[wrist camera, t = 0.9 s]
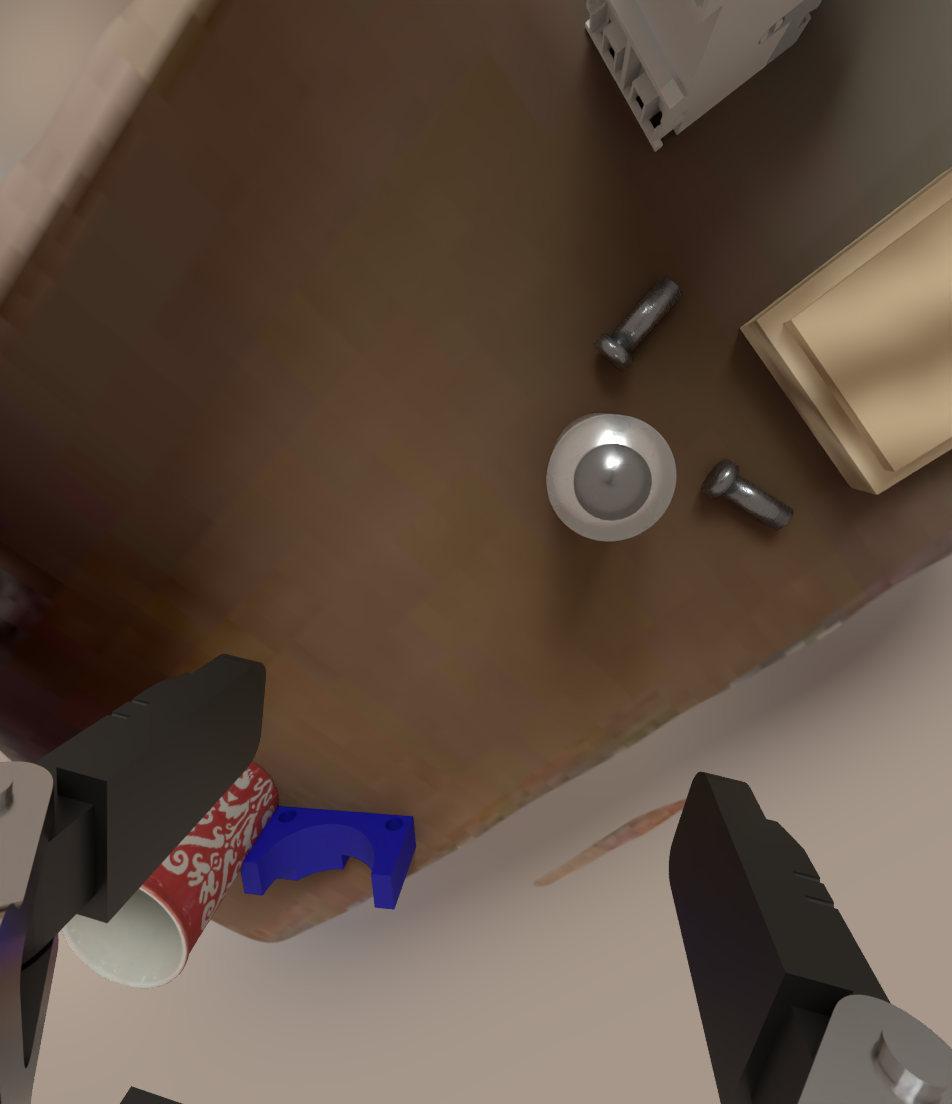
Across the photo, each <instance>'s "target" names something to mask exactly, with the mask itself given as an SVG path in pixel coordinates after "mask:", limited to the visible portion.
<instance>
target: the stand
mask: <svg viewBox="0 0 952 1104" xmlns="http://www.w3.org/2000/svg"><path fill="white" fill-rule="evenodd" d="M740 330H741V331H742V333H743V334H744V335H745V337H746V338H747V340H748V341H749V343H750V344H751V345H752V347H753V348H754V350H755V351H756V353H757V354H758V355H759V357H760V358H761V360H762V361H763V363H764V364H765V366H766V367H767V368H768V370H769V371H770V373H771V374H772V376H773V377H774V378H775V380H776V381H777V383H778V384H779V386H780V387H781V388H782V390H783V391H784V393H785V394H786V396H787V397H788V399H789V400H790V401H791V403H792V404H793V406H794V407H795V409H796V410H797V411H798V413H799V414H800V416H801V417H802V419H803V420H804V422H805V423H806V424H807V426H808V427H809V429H810V430H811V432H812V433H813V434H814V436H815V437H816V439H817V440H818V442H819V443H820V444H821V446H822V447H823V449H824V450H825V452H826V453H827V455H828V456H829V457H830V459H831V460H832V462H833V463H834V465H835V466H836V467H837V469H838V470H839V472H840V473H841V475H842V476H843V477H844V479H845V480H846V482H847V483H848V485H849V486H850V488H853V489H857V490H861V491H864V492H868V493H872V494H875V495H878V494H880V493H881V492H883V491H884V490H886V489H888V488H889V487H891V486H893V485H894V484H896V483H897V482H899V481H901V480H902V479H904V478H905V477H907V476H909V475H910V474H912V473H913V472H915V471H917V470H918V469H920V468H921V467H923V466H925V465H926V464H928V463H930V462H931V461H933V460H934V459H936V458H938V457H939V456H941V455H942V454H944V453H946V452H947V451H949V450H950V449H952V167H951V168H950V169H948V170H947V171H945V172H943V173H942V174H941V175H939V176H938V177H937V178H935V179H934V180H933V181H931V182H930V183H929V184H928V185H926V186H925V187H924V188H922V189H921V190H920V191H918V192H917V193H916V194H914V195H913V196H912V197H911V198H909V199H908V200H907V201H905V202H904V203H903V204H901V205H900V206H899V207H897V208H896V209H895V210H894V211H892V212H891V213H890V214H888V215H887V216H886V217H884V218H883V219H882V220H880V221H879V222H878V223H877V224H875V225H874V226H873V227H871V228H870V229H869V230H867V231H866V232H865V233H863V234H862V235H861V236H860V237H858V238H857V239H856V240H854V241H853V242H852V243H850V244H849V245H848V246H846V247H845V248H844V249H843V250H841V251H840V252H839V253H837V254H836V255H835V256H833V257H832V258H831V259H829V260H828V261H827V262H826V263H824V264H823V265H822V266H820V267H819V268H818V269H816V270H815V271H814V272H812V273H811V274H810V275H808V276H807V277H806V278H805V279H803V280H802V281H801V282H799V283H798V284H797V285H795V286H794V287H793V288H791V289H790V290H789V291H788V292H786V293H785V294H784V295H782V296H781V297H780V298H778V299H777V300H776V301H774V302H773V303H772V304H771V305H769V306H768V307H767V308H765V309H764V310H763V311H761V312H760V313H759V314H757V315H756V316H755V317H754V318H752V319H751V320H750V321H748V322H747V323H746V324H744V325H743V326H742V327H740Z"/></svg>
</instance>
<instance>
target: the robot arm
mask: <svg viewBox="0 0 952 1104" xmlns="http://www.w3.org/2000/svg"><path fill="white" fill-rule="evenodd" d="M265 681H266V670H265V666H264V665H263V664H262V663H260V662H256V661H252V660H248V659H244V658H239V657H235V656H231V655H227V654H222V655H219V656H217V657H216V658H214V659H213V660H212V661H210V662H209V663H207V664H206V665H204V666H203V667H201V668H200V669H198V670H197V671H196V672H194V673H193V674H190V673H185V674H182V675H179V676H176V677H173V678H170V679H167V680H164V681H161V682H159V683H156V684H155V685H153V686H151V687H150V688H148V689H147V690H145V691H144V692H142V693H141V694H139V695H138V696H136V697H135V698H133V700H132V702H127V703H125V704H124V705H122V706H121V707H119V708H118V709H116V710H115V711H113V713H112V715H111V716H110V715H107V716H105V717H104V718H102V719H101V720H99V721H98V722H96V723H95V724H93V725H91V726H90V727H88V728H87V729H85V730H84V731H82V732H81V733H79V734H78V735H76V736H75V737H73V738H72V739H70V740H68V741H67V742H65V743H64V744H62V745H61V746H59V747H58V748H56V749H55V750H53V751H52V752H50V753H48V754H47V755H45V756H44V757H42V758H41V759H39V760H38V761H36V762H35V763H33V764H32V763H28V762H0V1104H31V1096H32V1089H33V1083H34V1077H35V1072H36V1066H37V1061H38V1055H39V1050H40V1044H41V1039H42V1033H43V1028H44V1022H45V1016H46V1011H47V1006H48V1000H49V995H50V989H51V983H52V979H53V973H54V968H55V962H56V957H57V951H58V932H59V931H60V930H61V929H62V928H63V927H64V926H65V925H66V924H67V923H68V922H69V921H70V920H71V919H72V918H73V917H74V916H75V915H76V914H78V915H81V916H84V917H88V918H91V919H94V920H97V921H101V922H104V923H108V922H109V921H110V920H111V919H112V918H113V917H114V916H115V915H116V913H117V912H118V911H119V910H120V909H121V908H122V907H123V906H124V905H125V903H126V902H127V901H128V900H129V899H130V898H131V897H132V896H133V895H134V894H135V892H136V891H137V890H138V889H139V888H140V887H141V886H142V885H143V884H144V882H145V881H146V880H147V879H148V878H149V877H150V876H151V875H152V874H153V872H154V871H155V870H156V869H157V868H158V867H159V866H160V865H161V864H162V862H163V861H164V860H165V859H166V858H167V857H168V856H169V855H170V854H171V852H172V851H173V850H174V849H175V848H176V847H177V846H178V845H179V844H180V843H181V841H182V840H183V839H184V838H185V837H186V836H187V835H188V834H189V833H190V831H191V830H192V829H193V828H194V827H195V826H196V825H197V824H198V823H199V821H200V820H201V819H202V818H203V817H204V816H205V815H206V814H207V813H208V811H209V810H210V809H211V808H212V807H213V806H214V805H215V804H216V803H217V802H218V800H219V799H220V798H221V797H222V796H223V795H224V794H225V793H226V792H227V790H228V789H229V788H230V787H231V786H232V785H233V784H234V783H235V782H236V780H237V779H238V778H239V777H240V776H241V775H242V774H243V773H244V772H245V770H246V769H247V768H248V767H249V765H250V763H251V762H252V760H253V758H254V756H255V754H256V751H257V749H258V746H259V742H260V738H261V729H262V717H263V705H264V693H265ZM669 880H670V886H671V890H672V895H673V899H674V903H675V907H676V912H677V916H678V920H679V925H680V929H681V934H682V938H683V942H684V946H685V951H686V955H687V960H688V964H689V968H690V972H691V977H692V981H693V985H694V990H695V994H696V998H697V1003H698V1006H699V1011H700V1016H701V1020H702V1024H703V1029H704V1033H705V1037H706V1041H707V1046H708V1050H709V1054H710V1058H711V1063H712V1067H713V1071H714V1076H715V1080H716V1085H717V1089H718V1093H719V1098H720V1102H721V1104H952V1049H951V1048H950V1047H949V1046H948V1045H947V1044H946V1043H945V1042H944V1041H943V1040H942V1039H941V1038H940V1037H939V1036H938V1035H936V1034H935V1033H934V1032H933V1031H932V1030H931V1029H929V1028H928V1027H927V1026H925V1025H924V1024H923V1023H922V1022H920V1021H919V1020H917V1019H916V1018H914V1017H913V1016H911V1015H910V1014H908V1013H907V1012H905V1011H903V1010H901V1009H900V1008H898V1007H896V1006H894V1005H892V1004H891V1003H890V1001H889V1000H888V998H887V996H886V994H885V993H884V991H883V989H882V987H881V985H880V984H879V982H878V980H877V978H876V976H875V975H874V973H873V971H872V969H871V968H870V966H869V964H868V962H867V960H866V959H865V957H864V955H863V953H862V952H861V950H860V948H859V946H858V945H857V943H856V941H855V939H854V937H853V936H852V934H851V932H850V930H849V928H848V927H847V925H846V923H845V921H844V920H843V918H842V916H841V914H840V913H839V911H838V909H835V908H834V902H833V900H832V898H831V897H830V895H829V893H828V891H827V889H826V887H825V886H824V884H822V883H820V877H819V875H818V873H817V872H816V870H815V868H814V866H813V864H812V863H811V861H810V859H809V857H808V855H807V854H806V852H805V850H804V849H803V848H802V847H801V846H800V845H799V844H798V843H797V841H796V840H795V839H794V838H793V837H792V836H791V835H790V834H789V833H788V832H787V831H786V830H785V829H784V828H783V827H782V826H781V825H780V824H779V823H778V822H776V821H772V820H768V819H766V818H765V816H764V814H763V812H762V810H761V808H760V806H759V804H758V802H757V800H756V798H755V796H754V794H753V792H752V790H751V789H750V787H749V785H748V784H747V783H745V782H742V781H738V780H733V779H729V778H725V777H721V776H717V775H713V774H709V773H705V772H698V773H697V774H696V776H695V777H694V779H693V781H692V784H691V787H690V790H689V793H688V796H687V799H686V802H685V805H684V808H683V811H682V814H681V817H680V820H679V824H678V826H677V829H676V832H675V836H674V839H673V842H672V846H671V850H670V857H669ZM120 1104H181V1103H179V1102H176V1101H173V1100H170V1099H167V1098H164V1097H161V1096H158V1095H155V1094H152V1093H149V1092H146V1091H144V1090H140V1089H138V1088H135V1087H132V1086H131V1088H130V1089H129V1091H128V1092H127V1094H126V1095H125V1097H124V1098H123V1100H122V1102H121V1103H120Z"/></svg>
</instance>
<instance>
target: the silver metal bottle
mask: <svg viewBox="0 0 952 1104" xmlns="http://www.w3.org/2000/svg"><path fill="white" fill-rule="evenodd" d="M546 482H547V492H548V496H549V499H550V502H551V505H552V507H553V509H554V511H555V512H556V514H557V515H558V517H559V518H560V519H561V520H562V522H563V523H564V524H565V525H567V526H568V527H569V528H570V529H572V530H573V531H575V532H576V533H578V534H580V535H582V536H584V537H587V538H590V539H594V540H598V541H619V540H624V539H628V538H631V537H634V536H636V535H638V534H640V533H642V532H644V531H645V530H647V529H648V528H650V527H651V526H652V525H654V524H655V523H656V522H657V521H658V520H659V519H660V518H661V516H662V515H663V514H664V512H665V511H666V509H667V508H668V506H669V504H670V502H671V499H672V497H673V494H674V490H675V486H676V465H675V460H674V457H673V454H672V452H671V449H670V447H669V445H668V444H667V442H666V441H665V439H664V438H663V437H662V436H661V434H660V433H659V432H658V431H656V430H655V429H654V428H653V427H651V426H650V425H648V424H647V423H645V422H643V421H641V420H639V419H636V418H633V417H630V416H625V415H617V414H607V413H591V414H587V415H584V416H581V417H579V418H577V419H575V420H573V421H572V422H570V423H569V424H568V425H567V426H566V427H565V428H564V429H563V430H562V432H561V433H560V435H559V436H558V438H557V440H556V443H555V446H554V449H553V452H552V455H551V458H550V461H549V465H548V469H547V478H546Z"/></svg>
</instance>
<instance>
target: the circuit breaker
mask: <svg viewBox="0 0 952 1104" xmlns="http://www.w3.org/2000/svg"><path fill="white" fill-rule="evenodd" d="M821 1H822V0H587V2H586V8H587V10H588V12H589V13H590V19H589V20H588V21H587V22H586V23H585V28H586V30H587V32H588V33H589V35H590V37H591V39H592V40H593V42H594V44H595V46H596V48H597V49H598V51H599V53H600V55H601V56H602V58H603V60H604V62H605V64H606V65H607V67H608V69H609V71H610V72H611V74H612V76H613V78H614V80H615V81H616V83H617V85H618V87H619V88H620V90H621V92H622V94H623V96H624V97H625V99H626V101H627V103H628V105H629V106H630V108H631V110H632V112H633V113H634V115H635V117H636V119H637V121H638V122H639V124H640V126H641V128H642V129H643V131H644V133H645V135H646V137H647V138H648V140H649V142H650V144H651V145H652V147H653V149H654V151H655V152H656V151H657V150H659V149H660V148H661V147H662V146H663V143H662V141H661V138H662V137H664V136H665V135H666V134H668V133H669V132H670V131H671V130H673V129H674V131H675V133H676V135H678V134H679V133H680V132H682V131H683V130H684V129H685V128H687V127H688V126H689V125H691V124H692V123H693V122H694V121H696V120H697V119H698V118H700V117H701V116H702V115H703V114H705V113H706V112H707V111H709V110H710V109H711V108H712V107H714V106H715V105H716V104H718V103H719V102H720V101H721V100H723V99H724V98H725V97H726V96H728V95H729V94H730V93H732V92H733V91H734V90H735V89H737V88H738V87H739V86H741V85H742V84H743V83H744V82H746V81H747V80H748V79H750V78H751V77H752V76H753V75H755V74H756V73H757V72H759V71H760V70H761V69H762V68H764V67H765V66H766V65H767V64H769V63H770V62H771V61H773V60H774V59H775V58H776V57H778V56H779V55H780V54H782V53H783V52H784V51H785V50H787V49H788V48H789V47H791V46H792V45H793V44H794V43H795V42H796V41H797V40H798V38H799V36H800V35H801V33H802V32H803V30H804V28H805V27H806V25H807V24H808V22H809V20H810V19H811V16H810V14H809V12H810V11H812V10H814V9H816V8H818V6H819V5H820V3H821ZM611 47H612V48H613V50H614V51H615V56H614V59H613V57H612V55H611V54H610V52H609V49H610V48H611ZM631 85H632V86H631ZM638 96H640V98H641V100H642V102H643V103H644V106H643V109H641V107H640V105H639V104H638V102H637V100H636V97H638ZM659 111H661V112H662V114H663V115H662V119H661V124H660V125H659V126H657V127H656V128H655V129H654V127H653V125H652V124H651V122H650V120H651V118H652V117H653V116H654V115H656V114H657V113H658V112H659Z"/></svg>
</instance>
